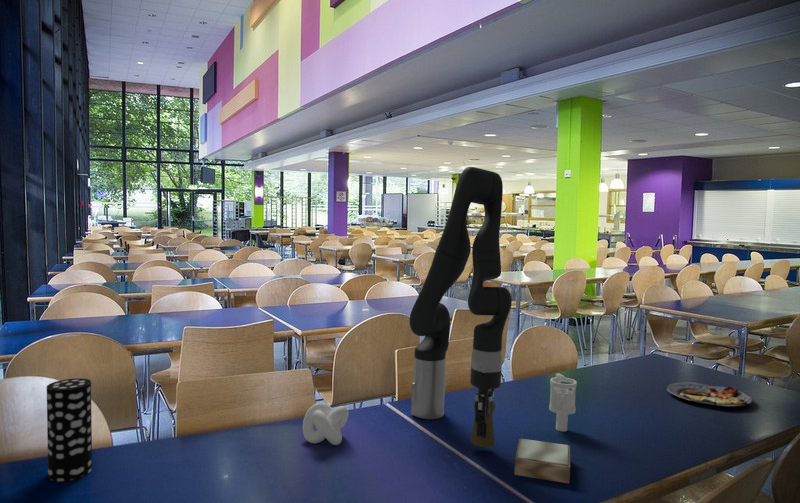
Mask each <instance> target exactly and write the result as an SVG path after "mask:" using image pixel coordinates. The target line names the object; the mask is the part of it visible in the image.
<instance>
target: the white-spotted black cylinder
mask: <svg viewBox="0 0 800 503" xmlns="http://www.w3.org/2000/svg"><path fill="white" fill-rule="evenodd" d="M46 418H47V419H46V425H47V427H46V428H47V430H46V431H47V436H46V437H47V478H48V479H49V480H50V481H53V482H68V481H73V480H77V479H79V478H83V477H84V476H86V475H88V474H89V473H90V472H91V471H92V470H93V440H92V439H93V437H92V432H93V430H92V423H93V422H92V381H91V380H90V379H88V378H80V377H79V378H67V379H62V380H56V381H53V382H51V383H48V384H47V386H46Z"/></svg>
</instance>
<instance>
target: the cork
mask: <svg viewBox="0 0 800 503" xmlns="http://www.w3.org/2000/svg"><path fill="white" fill-rule="evenodd" d="M475 402H476V400H474V403H473V408H474V410H475ZM487 409H488V406H487V407H486V410H487ZM495 409H496V403H495V402H494V400H493V401H492V402H491V404H490V413H489V414H488V417H487V420H488V422H487V427H486V437H485V438H484V437H483V436H479V437H477V422H475V418H474V419H473V420H474V421H473V425H472V431H471V434H470V435H471V436H470V443H471V444H472V445H474V446H476V447H480V448H491V447H493V446H495V444H496V442H495V430H494V418H493V415H494V414H493V413H494V412H495ZM480 418H483V416H480Z"/></svg>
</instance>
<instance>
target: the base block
mask: <svg viewBox="0 0 800 503" xmlns="http://www.w3.org/2000/svg"><path fill="white" fill-rule="evenodd" d="M514 458H515V459H514V475H515V476H520V477H527V478H533V479H539V480H545V481H552V482H558V483H565V484H570V480H571V479H570V478H571V446H570V445H568V444H562V443H557V442H555V443H554V442H548V441H541V440H533V439H527V438H519V440H518V444H517V449H516V452H515V457H514Z"/></svg>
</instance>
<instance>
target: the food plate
mask: <svg viewBox="0 0 800 503" xmlns="http://www.w3.org/2000/svg"><path fill="white" fill-rule="evenodd" d="M666 391H667V392H669V393H670V394H672V395H674V396H676V397H678V398H679V399H682V400H683V399H684V400H686V401H689V402H696V403H698V404H706V405H710V406H714V405H715V406H722V407H730V408H735V407H746V406H750V405H751V404H752V403H753V401H754V398H753V397H752V396H750V395H749V394H747V393H745V392H743V391H740V390H739V389H738V388H737V387H736V388H733V387H732V386H727V387H725V386H721V385H716V384H710V383H702V382H701V383H700V382H696V381H695V382H690V381H687V382H674V383H670V384H668V385H667V387H666Z"/></svg>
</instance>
